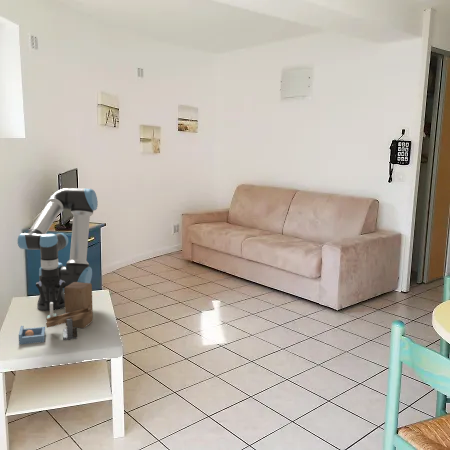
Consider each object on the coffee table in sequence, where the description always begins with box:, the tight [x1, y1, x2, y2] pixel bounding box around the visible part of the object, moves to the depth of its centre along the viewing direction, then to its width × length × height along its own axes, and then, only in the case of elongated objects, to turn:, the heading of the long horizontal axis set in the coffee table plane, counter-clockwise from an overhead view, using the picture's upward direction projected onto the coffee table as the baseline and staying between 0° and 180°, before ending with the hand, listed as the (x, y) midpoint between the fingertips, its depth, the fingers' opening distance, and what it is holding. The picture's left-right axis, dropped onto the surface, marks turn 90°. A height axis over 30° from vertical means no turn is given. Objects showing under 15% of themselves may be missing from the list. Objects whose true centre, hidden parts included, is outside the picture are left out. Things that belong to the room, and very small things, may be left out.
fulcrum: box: [62, 312, 78, 341], centre depth 220 cm, size 6×11×9 cm, turn 18°
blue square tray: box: [18, 325, 46, 346], centre depth 215 cm, size 10×10×4 cm
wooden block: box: [63, 282, 94, 329], centre depth 231 cm, size 10×10×20 cm
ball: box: [25, 330, 34, 336], centre depth 215 cm, size 4×4×4 cm
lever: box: [45, 305, 92, 329], centre depth 222 cm, size 20×13×4 cm, turn 108°
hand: (51, 316), depth 223 cm, fingers closed
